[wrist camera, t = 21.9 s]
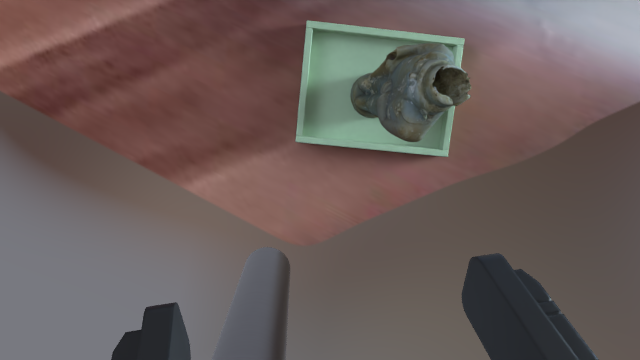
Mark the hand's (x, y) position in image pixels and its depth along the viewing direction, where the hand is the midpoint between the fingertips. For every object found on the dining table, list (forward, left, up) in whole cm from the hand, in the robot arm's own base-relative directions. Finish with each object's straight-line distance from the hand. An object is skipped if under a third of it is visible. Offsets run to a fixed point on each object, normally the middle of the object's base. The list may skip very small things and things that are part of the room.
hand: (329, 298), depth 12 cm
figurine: (+7, -6, -31) cm, 32 cm away
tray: (+8, -6, -31) cm, 33 cm away
